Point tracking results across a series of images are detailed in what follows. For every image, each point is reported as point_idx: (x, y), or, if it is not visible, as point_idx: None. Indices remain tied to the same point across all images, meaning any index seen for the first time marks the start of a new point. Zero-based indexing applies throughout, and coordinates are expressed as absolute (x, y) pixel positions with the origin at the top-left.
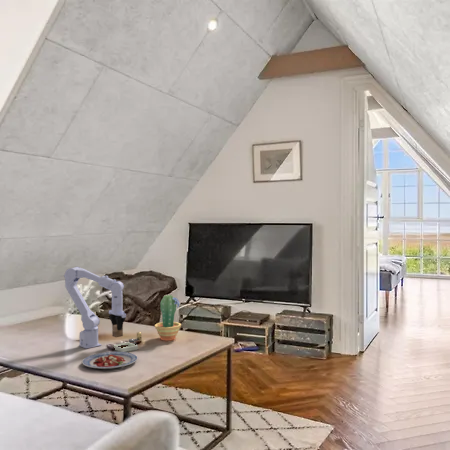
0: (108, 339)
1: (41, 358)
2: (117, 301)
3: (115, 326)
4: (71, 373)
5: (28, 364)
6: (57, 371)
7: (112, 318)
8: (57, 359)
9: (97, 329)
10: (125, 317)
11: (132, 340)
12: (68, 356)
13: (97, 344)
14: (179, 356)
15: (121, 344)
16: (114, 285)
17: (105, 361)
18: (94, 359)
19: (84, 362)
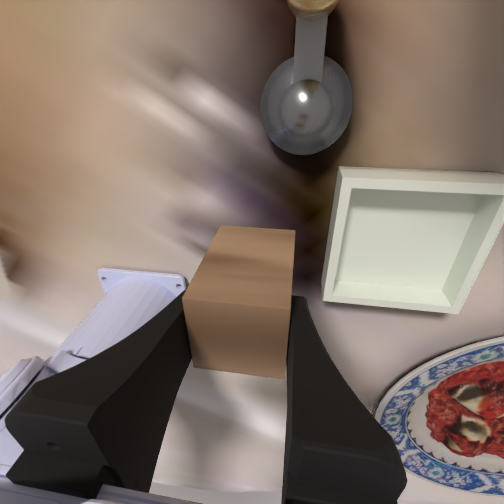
0: (49, 157)
1: (215, 458)
2: None
3: (266, 372)
4: (450, 499)
5: (250, 489)
6: None
7: (154, 452)
8: (264, 449)
9: (94, 354)
10: (400, 462)
11: (332, 115)
12: (257, 423)
13: (173, 296)
14: None
15: (340, 246)
16: None
17: None
18: (412, 427)
19: (438, 480)
